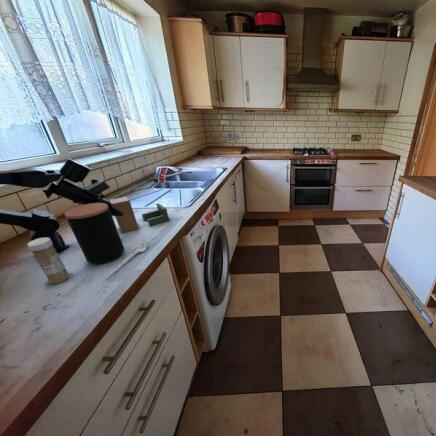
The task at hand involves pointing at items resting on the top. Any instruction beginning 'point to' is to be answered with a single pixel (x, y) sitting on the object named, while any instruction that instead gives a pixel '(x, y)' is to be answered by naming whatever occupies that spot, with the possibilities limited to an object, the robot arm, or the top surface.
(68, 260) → the top surface
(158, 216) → the cradle
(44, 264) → the sprinkles bottle
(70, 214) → the coffee jar
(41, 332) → the top surface
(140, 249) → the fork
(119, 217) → the brown box
